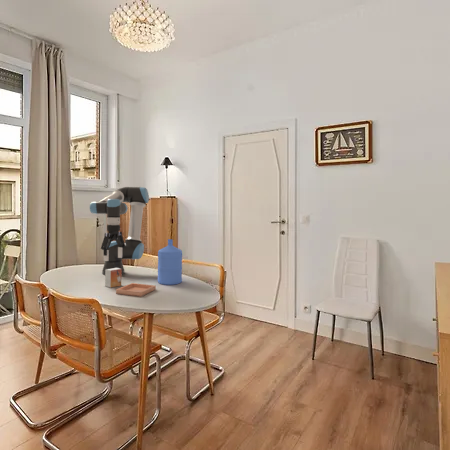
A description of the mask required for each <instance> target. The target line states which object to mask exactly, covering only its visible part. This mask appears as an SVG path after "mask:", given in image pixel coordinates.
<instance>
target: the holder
mask: <svg viewBox="0 0 450 450" xmlns="http://www.w3.org/2000/svg"><path fill="white" fill-rule="evenodd" d="M154 291H157V287H156V285H152V284H146V283H135V282H131V283H128V284H126V285H124V286H121V287H119V288H116V289H115V294H116V295H121V296H122V295H124V296H132V297H139V298H141V297H144V296H146V295H148V294H150V293H151V292H154Z"/></svg>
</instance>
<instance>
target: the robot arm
mask: <svg viewBox="0 0 450 450" xmlns="http://www.w3.org/2000/svg"><path fill="white" fill-rule="evenodd" d="M149 202H150V197H149V191H148V189H147V188H146V187H141V186H139V187H138V186H124V187H120V188H117V189H115V190H113V191H112V192H111V194H109V195H108V196H106V197H104V198H103V199H101V200H99V201H91V203H90V204H89V211H90V213H91V214H96V215H106V217H107V218H106V224H107V225H106V231H107V232H104V238H103V241H102V243H101V246H100V249H101V250H102V251H103V262H104V265H103V268H102V270H101V271H102V272H101V273H102V275H104V276H105V269H112V268H120V269H122V275H123V274H125V267H124V264H123V260H140V259H142V257H143V255H144V251H145V245H144V243H143V240H141V234H142V233H141V232H142V223H143V222H142V221H143V214H144V213H143V211H144V208H145V207H146V206H147V204H149ZM126 203H129V205H130V206H131V207H130V214H129V217H130V218H129V224H128V233H127V238H125V239H124V237H123V232H122V231H121V225H120V224H121V215H125V214H126V213H127V212H128V206H127V204H126Z"/></svg>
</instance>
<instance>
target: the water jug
mask: <svg viewBox="0 0 450 450" xmlns="http://www.w3.org/2000/svg"><path fill="white" fill-rule="evenodd" d="M173 240H174V239H171V238H170V239H169V238H168V239H167V245H166V246H164V247H162V248H160V249H159V250H158V251H157V282H158V284H160V285H164V286H165V285H166V286H168V285H169V286H173V285H178V284H181V283H182V281H183V278H182V276H183V275H182V274H183V250H182V249H180V248H179V247H176V246H175V245H173V243H174V241H173Z"/></svg>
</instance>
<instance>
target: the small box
mask: <svg viewBox="0 0 450 450" xmlns="http://www.w3.org/2000/svg"><path fill="white" fill-rule="evenodd" d="M104 276H105V278H104V280H105V281H104V282H105V284H104V286H105V287H107V288H115V287H120V286H121V287H122V278H123V277H122V276H123V274H122V269H120V268H112V269H105V275H104Z"/></svg>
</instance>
